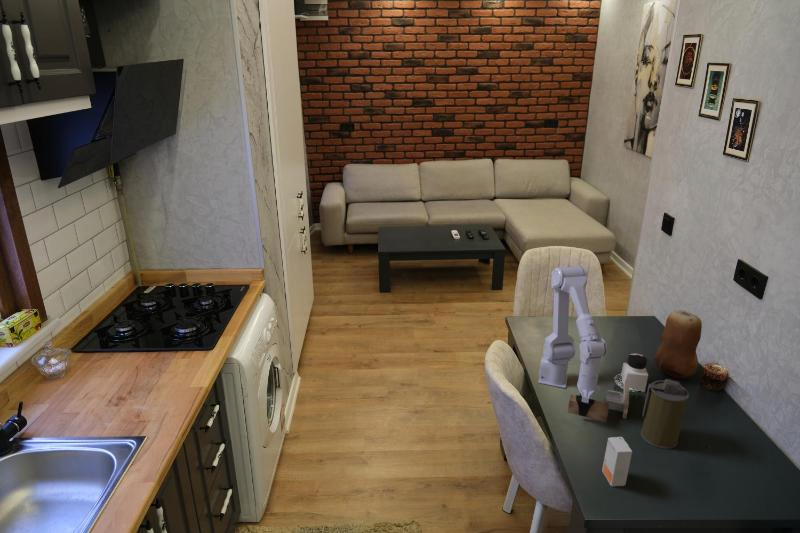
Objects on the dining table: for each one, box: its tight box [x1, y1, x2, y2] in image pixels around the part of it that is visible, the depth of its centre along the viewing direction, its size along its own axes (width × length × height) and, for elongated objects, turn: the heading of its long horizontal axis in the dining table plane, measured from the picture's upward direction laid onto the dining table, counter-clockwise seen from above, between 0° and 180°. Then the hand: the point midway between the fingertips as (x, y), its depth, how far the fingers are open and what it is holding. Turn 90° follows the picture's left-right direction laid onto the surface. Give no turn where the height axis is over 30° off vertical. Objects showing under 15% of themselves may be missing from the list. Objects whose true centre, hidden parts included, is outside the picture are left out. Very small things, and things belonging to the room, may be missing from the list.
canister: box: [640, 378, 690, 450], centre depth 161 cm, size 11×10×20 cm
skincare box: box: [601, 436, 633, 487], centre depth 147 cm, size 6×4×12 cm
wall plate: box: [622, 380, 630, 420], centre depth 178 cm, size 1×14×6 cm, turn 158°
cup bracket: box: [605, 389, 624, 412], centre depth 180 cm, size 5×7×3 cm
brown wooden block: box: [567, 394, 610, 423], centre depth 175 cm, size 12×3×5 cm, turn 66°
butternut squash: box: [653, 309, 703, 380], centre depth 193 cm, size 14×13×25 cm
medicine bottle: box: [620, 353, 649, 393], centre depth 188 cm, size 7×7×12 cm
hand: (583, 408), depth 175 cm, fingers open, 7 cm apart
